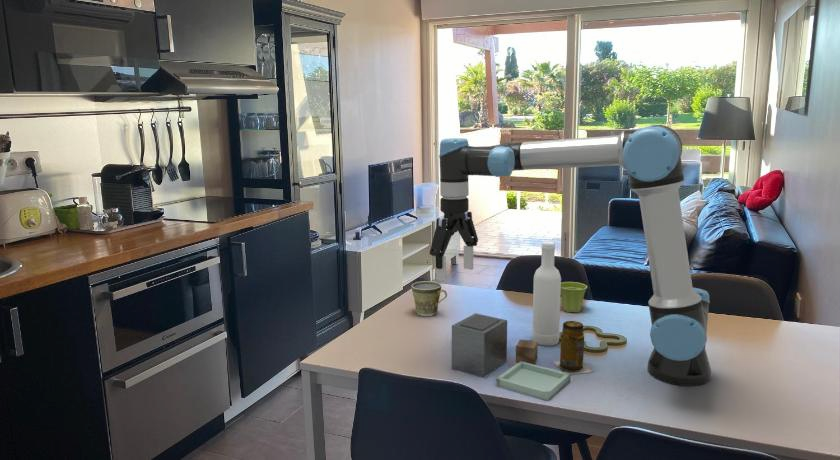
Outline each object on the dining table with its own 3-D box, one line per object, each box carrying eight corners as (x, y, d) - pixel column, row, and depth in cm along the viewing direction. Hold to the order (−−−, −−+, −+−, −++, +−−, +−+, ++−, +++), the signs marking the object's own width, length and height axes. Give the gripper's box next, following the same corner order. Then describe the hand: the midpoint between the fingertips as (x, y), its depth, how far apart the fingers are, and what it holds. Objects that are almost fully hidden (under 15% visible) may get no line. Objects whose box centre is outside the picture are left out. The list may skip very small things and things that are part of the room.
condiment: (577, 359, 172) (579, 318, 170) (592, 372, 164) (594, 329, 162) (552, 362, 171) (554, 320, 168) (566, 375, 162) (568, 331, 160)
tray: (569, 381, 159) (570, 374, 158) (547, 400, 149) (547, 393, 148) (520, 368, 167) (520, 361, 167) (496, 385, 157) (496, 378, 156)
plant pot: (568, 303, 219) (568, 280, 218) (591, 310, 213) (592, 285, 211) (552, 310, 213) (552, 285, 212) (575, 316, 206) (576, 291, 205)
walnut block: (537, 358, 173) (537, 341, 172) (533, 365, 169) (534, 348, 168) (519, 356, 175) (519, 339, 174) (515, 363, 171) (515, 345, 170)
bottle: (536, 334, 191) (538, 238, 185) (561, 338, 187) (565, 240, 181) (528, 343, 184) (531, 244, 178) (555, 347, 180) (558, 246, 174)
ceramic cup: (406, 315, 210) (405, 286, 208) (422, 307, 218) (422, 279, 216) (438, 322, 203) (438, 292, 201) (454, 313, 211) (454, 285, 209)
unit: (506, 361, 171) (507, 319, 169) (484, 377, 162) (484, 332, 159) (474, 353, 177) (474, 312, 175) (450, 367, 168) (450, 324, 165)
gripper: (467, 190, 179) (467, 262, 183) (414, 202, 159) (416, 283, 163) (490, 192, 174) (490, 266, 178) (439, 204, 154) (440, 287, 159)
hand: (455, 274), depth 171 cm, fingers open, 13 cm apart
